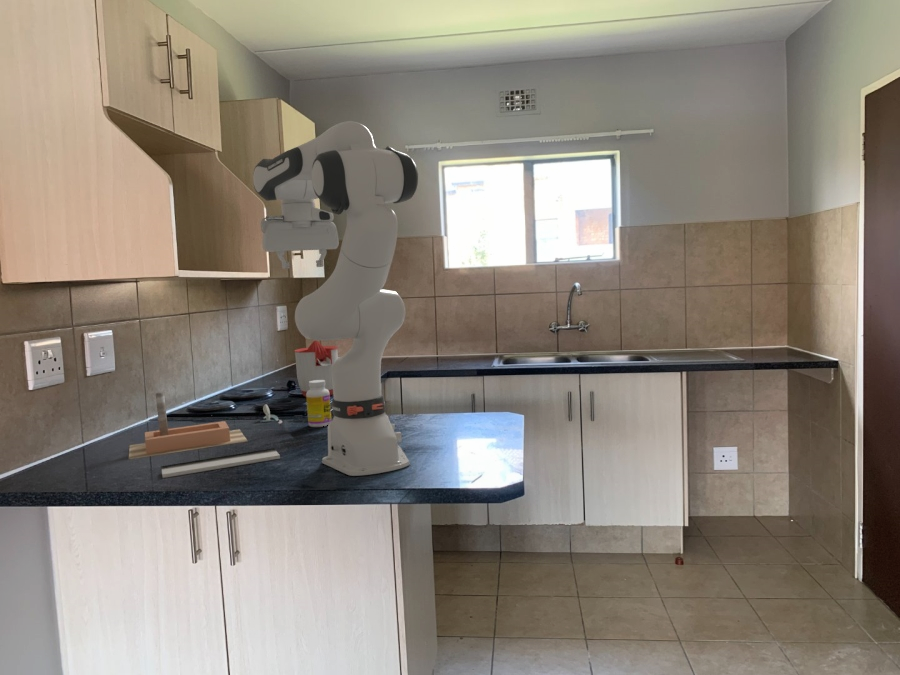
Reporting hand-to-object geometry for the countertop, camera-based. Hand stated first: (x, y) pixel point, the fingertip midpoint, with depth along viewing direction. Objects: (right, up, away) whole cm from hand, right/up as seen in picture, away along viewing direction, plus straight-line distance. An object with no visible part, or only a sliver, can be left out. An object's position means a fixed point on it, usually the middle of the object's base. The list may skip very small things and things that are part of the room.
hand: (303, 267), depth 183 cm
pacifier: (-13, -45, +19) cm, 51 cm away
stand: (-29, -48, -5) cm, 56 cm away
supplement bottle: (+2, -44, +14) cm, 47 cm away
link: (-29, -46, -5) cm, 55 cm away
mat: (-16, -48, -19) cm, 54 cm away
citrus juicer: (-7, -40, +64) cm, 75 cm away
